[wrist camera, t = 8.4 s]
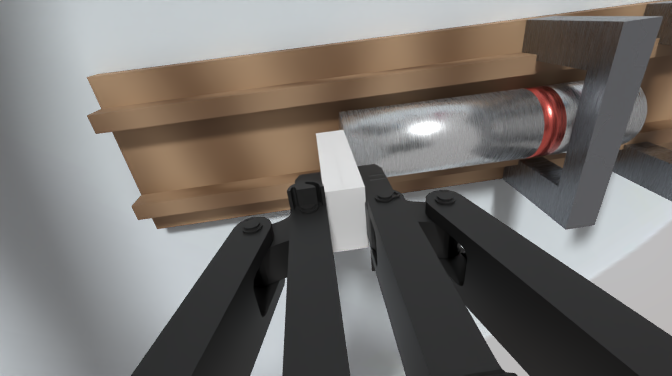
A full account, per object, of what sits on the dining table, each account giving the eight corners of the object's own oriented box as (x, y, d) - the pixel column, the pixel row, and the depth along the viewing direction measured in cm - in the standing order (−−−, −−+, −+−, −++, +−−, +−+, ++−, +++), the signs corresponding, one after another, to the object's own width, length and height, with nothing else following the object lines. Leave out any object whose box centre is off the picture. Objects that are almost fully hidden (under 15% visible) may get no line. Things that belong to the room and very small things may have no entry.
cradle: (162, 220, 23) (148, 241, 21) (97, 74, 18) (70, 82, 16) (675, 145, 24) (710, 158, 22) (740, -11, 19) (793, -13, 17)
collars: (502, 178, 23) (565, 229, 17) (526, 19, 18) (624, 21, 13) (619, 161, 23) (718, 206, 18) (673, 0, 18) (832, -6, 13)
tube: (342, 161, 21) (351, 196, 18) (336, 102, 19) (345, 129, 16) (577, 129, 22) (628, 157, 18) (598, 68, 20) (660, 87, 16)
